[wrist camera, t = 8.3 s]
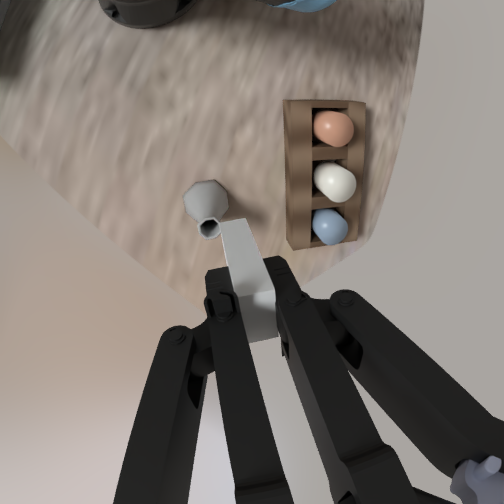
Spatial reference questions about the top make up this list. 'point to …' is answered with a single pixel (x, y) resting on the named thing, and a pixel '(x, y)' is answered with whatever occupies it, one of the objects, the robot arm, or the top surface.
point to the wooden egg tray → (300, 169)
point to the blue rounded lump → (328, 225)
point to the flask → (206, 206)
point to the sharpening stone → (3, 10)
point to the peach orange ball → (332, 127)
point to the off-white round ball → (334, 181)
